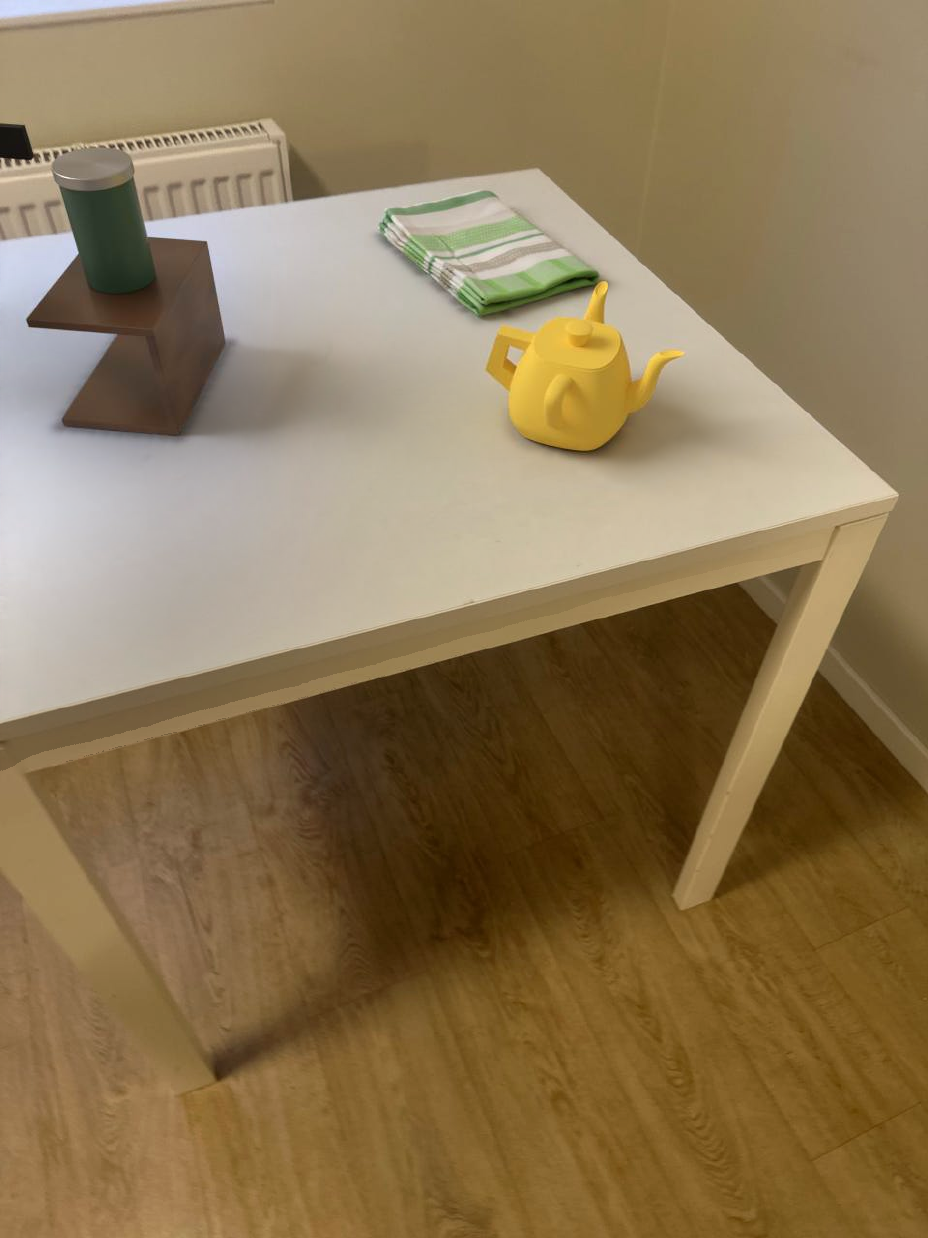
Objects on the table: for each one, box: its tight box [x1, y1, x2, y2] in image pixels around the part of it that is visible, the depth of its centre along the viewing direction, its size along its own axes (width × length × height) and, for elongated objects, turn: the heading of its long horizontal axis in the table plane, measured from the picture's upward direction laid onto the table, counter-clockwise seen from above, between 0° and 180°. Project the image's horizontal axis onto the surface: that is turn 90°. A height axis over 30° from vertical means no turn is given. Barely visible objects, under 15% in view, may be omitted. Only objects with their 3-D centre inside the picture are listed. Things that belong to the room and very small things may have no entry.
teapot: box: [484, 280, 685, 452], centre depth 86 cm, size 14×13×10 cm
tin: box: [50, 146, 156, 294], centre depth 80 cm, size 6×6×10 cm
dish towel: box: [377, 189, 600, 317], centre depth 109 cm, size 17×23×4 cm
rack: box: [25, 236, 227, 437], centre depth 88 cm, size 16×11×11 cm
